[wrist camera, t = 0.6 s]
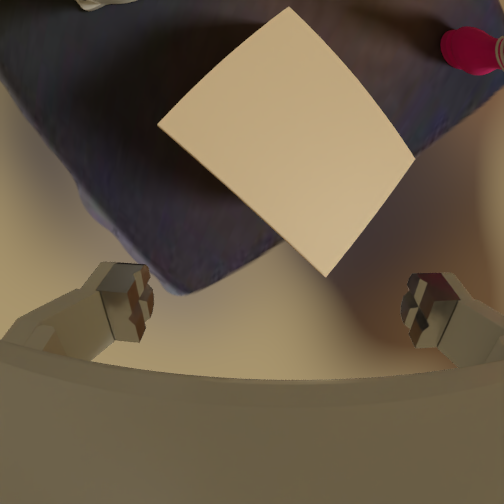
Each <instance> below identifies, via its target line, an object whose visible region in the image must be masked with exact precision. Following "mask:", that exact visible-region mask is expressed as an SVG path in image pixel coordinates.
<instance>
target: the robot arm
mask: <svg viewBox="0 0 504 504" xmlns="http://www.w3.org/2000/svg"><path fill="white" fill-rule="evenodd" d="M76 1H77V2H78V4H79V5H80V6H81V7H82V8H83V9H84V10H86V11H93V10H96V9H98V8H100V7H103V6H105V5H108V4H123V3H129V2H133V1H137V0H86V1H85V0H76ZM149 279H150V272H149V268H148V266H147V265H146V264H131V263H116V262H101V263H100V264H99V266H98V267H97V268H96V269H95V271H94V272H93V273H92V274H91V276H90V277H89V278H88V280H87V281H86V282H85V284H84V285H83V286H82V288H81V289H75V290H73V291H71V292H69V293H67V294H65V295H63V296H61V297H59V298H57V299H55V300H53V301H51V302H49V303H47V304H45V305H43V306H41V307H39V308H37V309H35V310H33V311H31V312H29V313H28V314H25V315H23V316H21V317H20V318H18V319H17V320H16V321H15V322H14V324H13V325H12V326H11V328H10V329H9V330H8V332H7V333H6V334H5V335H4V337H3V338H2V339H1V340H0V504H504V315H502V314H501V313H499V312H497V311H495V310H494V309H492V308H490V307H489V306H487V305H485V304H484V303H482V302H480V301H478V300H474V299H473V298H472V297H471V295H470V294H469V293H468V291H467V290H466V289H465V288H464V286H463V285H462V284H461V282H460V281H459V280H458V279H457V277H456V276H455V275H454V274H452V273H414V274H412V275H411V276H410V278H409V280H408V283H407V286H408V288H409V291H408V292H407V293H406V294H405V295H404V296H403V300H402V303H401V317H402V321H403V323H404V325H406V326H407V327H409V328H410V332H409V336H410V338H411V340H412V342H413V345H414V347H415V348H429V347H437V348H438V349H439V350H440V351H441V352H442V353H443V354H444V355H445V356H446V357H447V358H449V359H450V360H451V361H452V362H453V363H454V364H455V365H456V366H457V367H458V368H455V369H448V370H441V371H434V372H426V373H418V374H409V375H397V376H386V377H372V378H355V379H332V380H258V379H236V378H235V379H234V378H218V377H206V376H194V375H183V374H174V373H165V372H156V371H149V370H141V369H134V368H128V367H121V366H115V365H109V364H103V363H97V362H92V361H91V360H92V359H93V358H95V357H96V356H97V355H98V354H100V353H101V352H102V351H103V350H104V349H106V348H107V347H108V346H109V345H111V344H112V343H113V342H114V340H118V341H128V342H138V343H139V342H140V340H141V338H142V336H143V334H144V331H145V329H146V326H145V321H147V320H148V319H149V318H150V317H151V315H152V312H153V306H154V294H153V289H152V288H151V287H150V286H149V285H148V281H149Z"/></svg>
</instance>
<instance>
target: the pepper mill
mask: <svg viewBox="0 0 504 504" xmlns="http://www.w3.org/2000/svg"><path fill="white" fill-rule="evenodd" d="M440 46H441V52H442V55H443V57H444V59H445V60H446V61H447V63H448V64H449V65H451V66H452V67H454V68H457V69H462V70H464V71H465V72H467V73H469V74H472V75H484V74H487V73H490V72H492V71H493V70H495V69H502V70H503V71H504V36H501V37H500V38H499V39H496V38H493V37H492V36H490V35H488V34H487V33H485V32H484V31H482V30H480V29H477V28H474V27H461V28H459V29H458V30H450V31H447V32H446V33H445V34H444V35H443V36H442V39H441V44H440Z"/></svg>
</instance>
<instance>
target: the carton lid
mask: <svg viewBox="0 0 504 504" xmlns="http://www.w3.org/2000/svg"><path fill="white" fill-rule="evenodd" d="M157 126H158V127H159V128H160V129H162V130H163V131H164V132H165V133H166V134H167V135H169V136H170V137H171V138H172V139H173V140H174V141H175V142H177V143H178V144H179V145H180V146H181V147H182V148H183V149H185V150H186V151H187V152H188V153H189V154H190V155H191V156H193V157H194V158H195V159H196V160H197V161H198V162H199V163H200V164H202V165H203V166H204V167H205V168H206V169H207V170H208V171H210V172H211V173H212V174H213V175H214V176H215V177H216V178H217V179H219V180H220V181H221V182H222V183H223V184H224V185H225V186H226V187H227V188H229V189H230V190H231V191H232V192H233V193H234V194H235V195H236V196H237V197H239V198H240V199H241V200H242V201H243V202H244V203H245V204H246V205H247V206H248V207H250V208H251V209H252V210H253V211H254V212H255V213H256V214H257V215H258V216H259V217H260V218H262V219H263V220H264V221H265V222H266V223H267V224H268V225H269V226H270V227H271V228H272V229H274V230H275V231H276V232H277V233H278V234H279V235H280V236H281V237H282V238H283V239H284V240H285V241H287V242H288V243H289V244H290V245H291V246H292V247H293V248H294V249H295V250H296V251H297V252H298V253H299V254H300V255H301V256H303V257H304V258H305V259H306V260H307V261H308V262H309V263H310V264H311V265H312V266H313V267H314V268H315V269H316V270H317V271H318V272H320V273H321V274H322V275H323V276H325V277H326V276H327V275H328V274H329V273H330V272H331V270H332V269H333V268H334V267H335V265H336V264H337V263H338V262H339V260H340V259H341V258H342V257H343V255H344V254H345V253H346V252H347V250H348V249H349V248H350V247H351V245H352V244H353V243H354V241H355V240H356V239H357V238H358V236H359V235H360V234H361V232H362V231H363V230H364V228H365V227H366V226H367V225H368V223H369V222H370V221H371V219H372V218H373V217H374V215H375V214H376V213H377V211H378V210H379V209H380V207H381V206H382V205H383V203H384V202H385V201H386V199H387V198H388V196H389V195H390V194H391V192H392V191H393V189H394V188H395V187H396V185H397V184H398V183H399V181H400V180H401V178H402V177H403V175H404V174H405V173H406V171H407V170H408V169H409V167H410V166H411V164H412V163H413V161H414V160H415V158H414V156H413V155H412V153H411V152H410V150H409V149H408V147H407V146H406V144H405V143H404V141H403V140H402V138H401V137H400V135H399V134H398V132H397V131H396V130H395V128H394V127H393V125H392V124H391V122H390V121H389V120H388V118H387V117H386V116H385V114H384V113H383V112H382V110H381V109H380V107H379V106H378V105H377V104H376V102H375V101H374V100H373V98H372V97H371V96H370V94H369V93H368V92H367V91H366V89H365V88H364V87H363V86H362V84H361V83H360V82H359V81H358V80H357V78H356V77H355V76H354V75H353V74H352V72H351V71H350V70H349V69H348V68H347V67H346V65H345V64H344V63H343V62H342V61H341V60H340V59H339V57H338V56H337V55H336V54H335V53H334V52H333V51H332V50H331V49H330V47H329V46H328V45H327V44H326V43H325V42H324V41H323V40H322V39H321V38H320V37H319V36H318V35H317V34H316V33H315V32H314V31H313V30H312V29H311V28H310V27H309V26H308V25H307V24H306V23H305V22H304V21H303V20H302V19H301V18H300V17H299V16H298V15H297V14H296V13H295V12H294V11H293V10H292V9H291V8H290V7H288V8H286V9H285V10H283V11H282V12H281V13H279V14H278V15H277V16H275V17H274V18H273V19H272V20H270V21H269V22H268V23H266V24H265V25H264V26H263V27H261V28H260V29H259V30H257V31H256V32H255V33H254V34H253V35H251V36H250V37H249V38H248V39H246V40H245V41H244V42H243V43H242V44H240V45H239V46H238V47H237V48H236V49H235V50H233V51H232V52H231V53H230V54H229V55H228V56H227V57H225V58H224V59H223V60H222V61H221V62H220V63H219V64H218V65H217V66H215V67H214V68H213V69H212V70H211V71H210V72H209V73H208V74H207V75H206V76H205V77H204V78H203V79H201V80H200V81H199V82H198V83H197V84H196V85H195V86H194V87H193V88H192V89H191V90H190V91H189V92H188V93H187V94H186V95H185V96H184V97H183V98H182V99H181V100H180V101H179V102H178V103H177V104H176V105H175V106H174V107H173V108H172V109H171V110H170V111H169V112H168V114H167V115H166V116H165V117H164V118H163V119H162V120H161V121H160V122H159V123H158V124H157Z"/></svg>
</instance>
